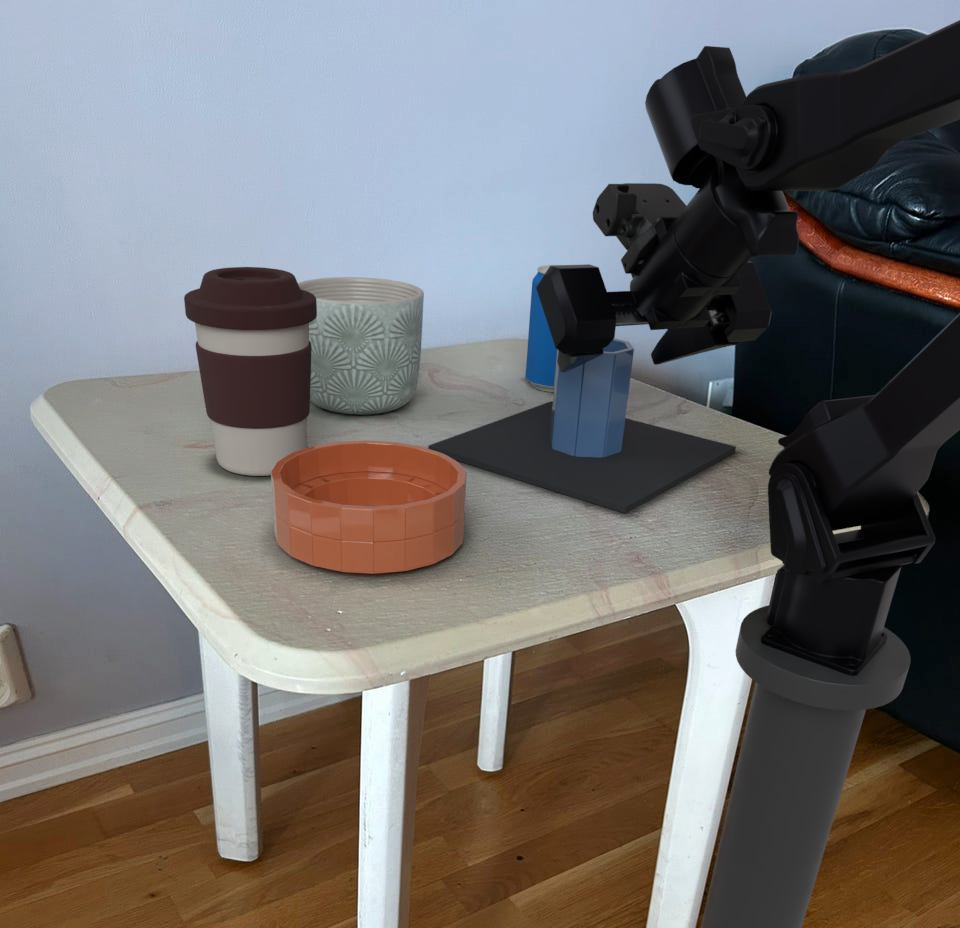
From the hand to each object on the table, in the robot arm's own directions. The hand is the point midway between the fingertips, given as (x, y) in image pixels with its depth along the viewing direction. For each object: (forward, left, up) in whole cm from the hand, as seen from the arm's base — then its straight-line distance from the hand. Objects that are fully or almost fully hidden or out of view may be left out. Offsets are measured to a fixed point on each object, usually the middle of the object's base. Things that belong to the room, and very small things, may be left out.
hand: (608, 363), depth 82 cm
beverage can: (+16, -17, -9) cm, 25 cm away
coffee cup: (+20, +21, -9) cm, 30 cm away
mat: (+2, -1, -8) cm, 9 cm away
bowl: (+3, +26, -8) cm, 28 cm away
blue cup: (+2, -1, -8) cm, 8 cm away
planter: (+26, +3, -9) cm, 27 cm away
